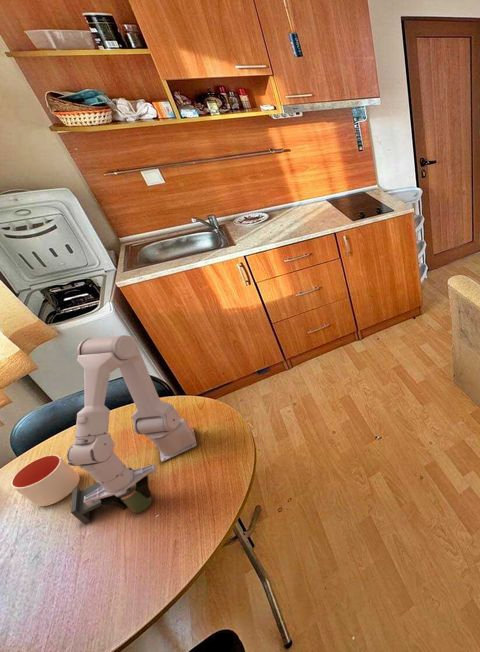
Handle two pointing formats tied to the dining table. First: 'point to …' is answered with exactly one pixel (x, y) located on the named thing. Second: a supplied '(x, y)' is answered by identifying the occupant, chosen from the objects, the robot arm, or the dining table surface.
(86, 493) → the grey channel-top block
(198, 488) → the dining table surface
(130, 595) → the dining table surface
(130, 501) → the canister
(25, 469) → the cup
